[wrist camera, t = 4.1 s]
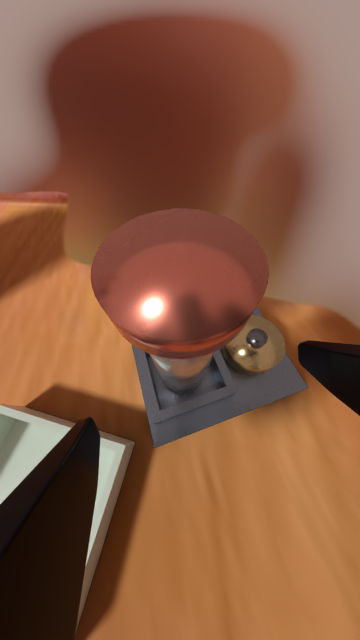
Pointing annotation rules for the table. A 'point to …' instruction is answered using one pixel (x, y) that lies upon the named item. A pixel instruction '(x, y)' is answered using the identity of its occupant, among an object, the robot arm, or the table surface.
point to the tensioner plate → (221, 383)
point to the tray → (35, 443)
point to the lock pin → (180, 287)
